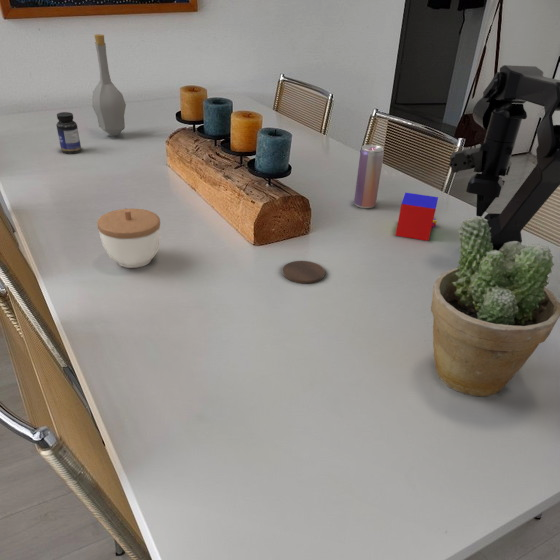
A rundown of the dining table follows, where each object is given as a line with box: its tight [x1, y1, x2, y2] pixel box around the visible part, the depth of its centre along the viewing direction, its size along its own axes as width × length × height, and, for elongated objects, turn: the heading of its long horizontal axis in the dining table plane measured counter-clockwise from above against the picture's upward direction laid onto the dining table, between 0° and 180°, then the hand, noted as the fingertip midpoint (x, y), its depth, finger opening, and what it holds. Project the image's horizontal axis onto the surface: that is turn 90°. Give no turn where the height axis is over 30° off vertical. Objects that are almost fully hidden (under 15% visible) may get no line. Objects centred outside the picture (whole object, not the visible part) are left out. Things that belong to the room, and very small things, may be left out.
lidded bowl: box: [96, 208, 161, 269], centre depth 114 cm, size 13×13×11 cm
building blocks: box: [432, 218, 438, 228], centre depth 141 cm, size 6×8×2 cm
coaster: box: [282, 260, 326, 284], centre depth 116 cm, size 9×9×1 cm
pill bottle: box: [55, 111, 82, 155], centre depth 170 cm, size 6×6×11 cm
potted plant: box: [430, 216, 560, 397], centre depth 83 cm, size 18×19×25 cm
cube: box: [395, 192, 439, 242], centre depth 133 cm, size 8×8×8 cm
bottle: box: [91, 33, 127, 137], centre depth 178 cm, size 11×11×30 cm
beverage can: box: [353, 144, 385, 210], centre depth 143 cm, size 6×6×15 cm
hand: (479, 215), depth 116 cm, fingers closed
